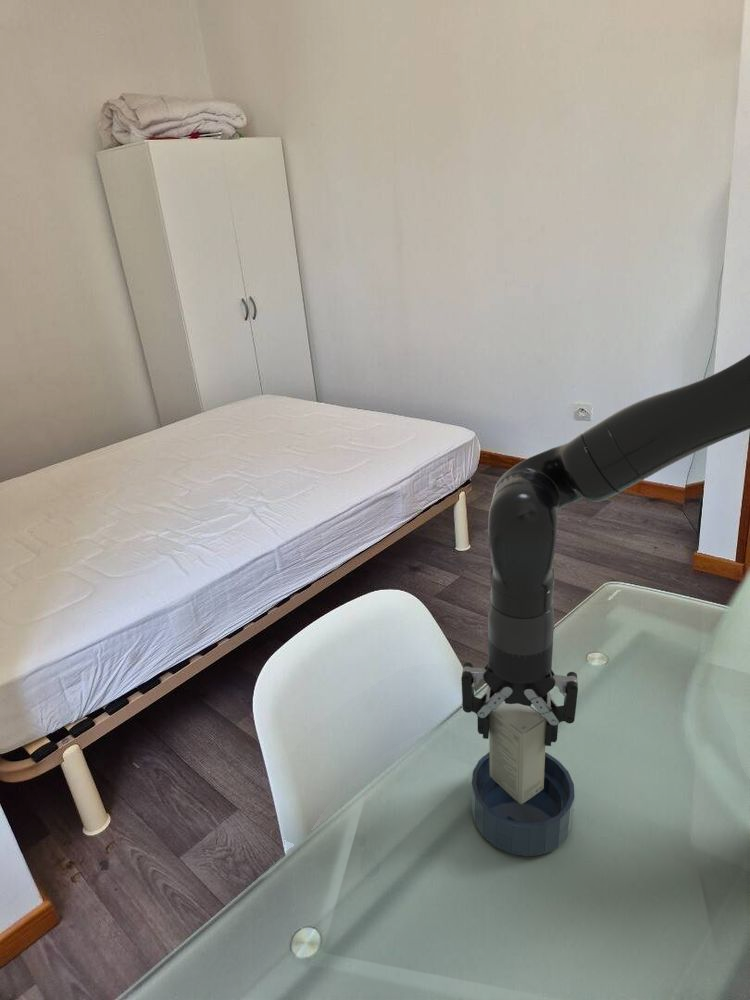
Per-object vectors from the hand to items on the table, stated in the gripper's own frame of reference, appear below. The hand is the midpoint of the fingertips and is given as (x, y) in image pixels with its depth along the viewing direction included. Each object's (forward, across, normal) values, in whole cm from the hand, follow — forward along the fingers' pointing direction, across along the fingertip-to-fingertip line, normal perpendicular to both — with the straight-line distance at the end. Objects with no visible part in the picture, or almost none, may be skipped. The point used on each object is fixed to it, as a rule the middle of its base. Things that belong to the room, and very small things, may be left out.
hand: (517, 737), depth 87 cm
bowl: (+14, +1, 0) cm, 14 cm away
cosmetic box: (+8, 0, 0) cm, 8 cm away
